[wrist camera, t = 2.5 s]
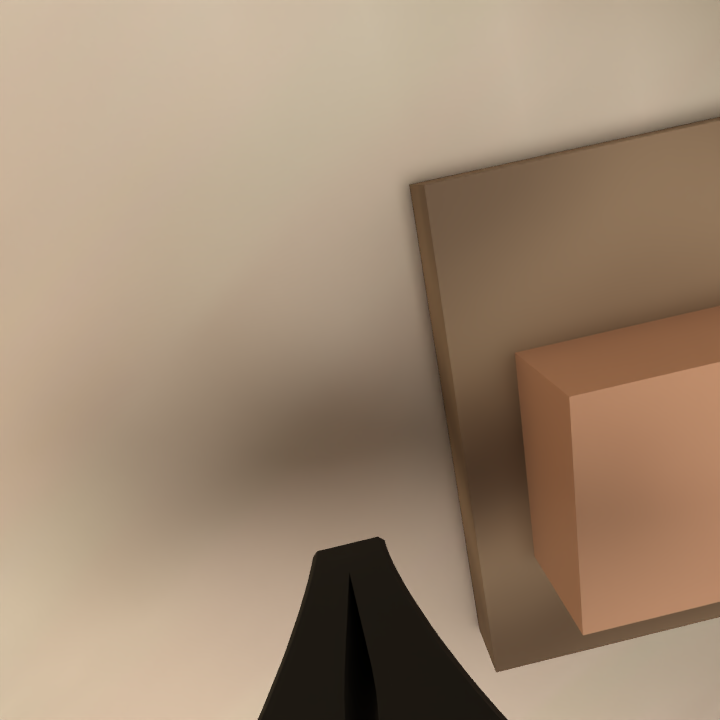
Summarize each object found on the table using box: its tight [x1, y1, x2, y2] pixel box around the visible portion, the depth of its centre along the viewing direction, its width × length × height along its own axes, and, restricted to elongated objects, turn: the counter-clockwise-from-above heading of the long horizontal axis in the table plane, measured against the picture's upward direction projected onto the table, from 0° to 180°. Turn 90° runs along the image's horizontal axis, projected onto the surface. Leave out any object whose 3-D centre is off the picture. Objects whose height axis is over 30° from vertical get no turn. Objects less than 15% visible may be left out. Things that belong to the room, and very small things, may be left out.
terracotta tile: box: [515, 306, 720, 635], centre depth 11 cm, size 6×6×2 cm
